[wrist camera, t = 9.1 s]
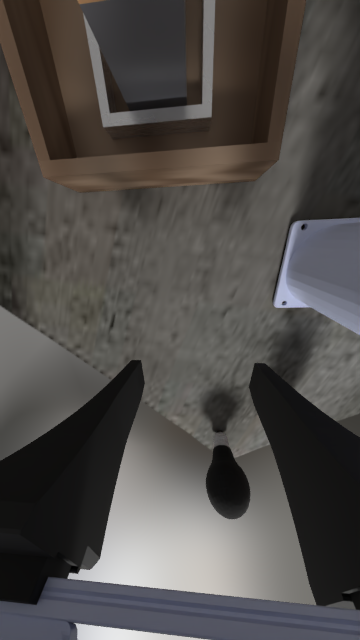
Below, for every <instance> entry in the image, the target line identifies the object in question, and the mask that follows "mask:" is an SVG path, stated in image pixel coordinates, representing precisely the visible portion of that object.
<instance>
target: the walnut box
mask: <svg viewBox="0 0 360 640" xmlns="http://www.w3.org/2000/svg"><path fill="white" fill-rule="evenodd" d="M185 4H186V75H187V106H188V105H198V104H201V72H202V0H185ZM305 5H306V0H215V24H214V55H213V85H212V116H211V123H210V129H209V131H203V132H191V133H180V134H169V135H158V136H146V137H135V138H124V139H112V138H111V137H110V135H109V134H108V133H107V132H106V130H105V129H104V128H103V124H102V118H101V112H100V107H99V101H98V95H97V90H96V84H95V78H94V73H93V67H92V61H91V55H90V50H89V44H88V38H87V33H86V27H85V21H84V15H83V11H82V9H81V7H80V5H79V3H78V1H77V0H0V43H1V46H2V49H3V53H4V56H5V59H6V62H7V65H8V68H9V71H10V74H11V78H12V81H13V84H14V87H15V90H16V93H17V96H18V99H19V102H20V106H21V109H22V112H23V115H24V118H25V121H26V124H27V127H28V131H29V134H30V137H31V140H32V143H33V146H34V149H35V152H36V155H37V159H38V162H39V165H40V168H41V171H42V174H43V177H44V178H46V179H49V180H51V181H54V182H56V183H58V184H61V185H63V186H66V187H68V188H70V189H73V190H75V191H78V192H80V193H81V192H96V191H112V190H127V189H142V188H157V187H172V186H187V185H203V184H218V183H233V182H248V181H256V180H257V179H258V178H259V177H260V176H261V175H262V174H263V173H264V172H266V171H267V170H268V169H269V168H270V167H271V166H272V165H273V164H275V163H276V162H277V161H278V160H279V155H280V149H281V143H282V137H283V132H284V126H285V120H286V114H287V109H288V103H289V97H290V91H291V85H292V80H293V74H294V68H295V62H296V57H297V51H298V45H299V39H300V34H301V28H302V22H303V16H304V11H305ZM110 71H111V70H110ZM111 77H112V84H113V91H114V98H115V105H116V112H117V113H118V112H128V111H130V110H129V108H128V106H127V104H126V102H125V100H124V98H123V95H122V93H121V91H120V89H119V87H118V85H117V83H116V81H115V79H114V76H113V74H112V72H111Z"/></svg>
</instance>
